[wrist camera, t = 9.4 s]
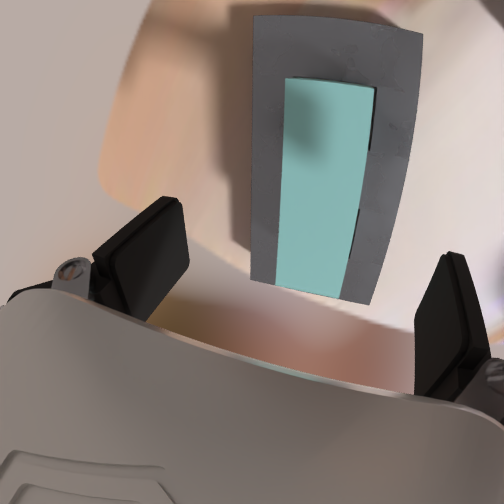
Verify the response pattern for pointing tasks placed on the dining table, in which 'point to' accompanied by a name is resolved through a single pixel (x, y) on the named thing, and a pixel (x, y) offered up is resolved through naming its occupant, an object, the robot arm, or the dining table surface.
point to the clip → (321, 181)
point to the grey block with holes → (380, 140)
